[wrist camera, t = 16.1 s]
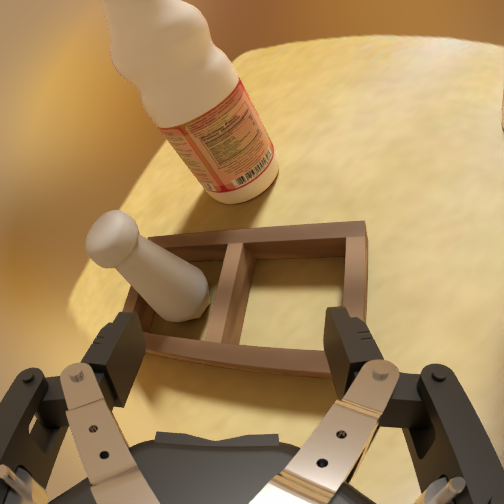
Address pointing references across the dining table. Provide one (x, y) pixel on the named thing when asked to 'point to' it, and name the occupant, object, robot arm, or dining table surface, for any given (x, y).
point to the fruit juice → (192, 95)
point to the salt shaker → (148, 268)
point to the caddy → (238, 286)
